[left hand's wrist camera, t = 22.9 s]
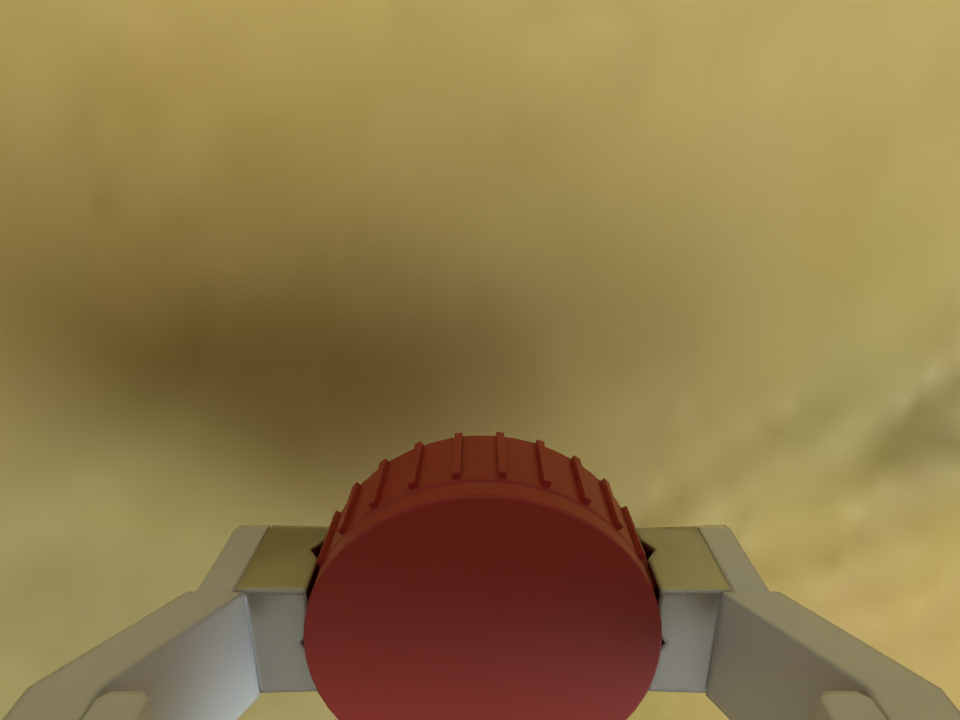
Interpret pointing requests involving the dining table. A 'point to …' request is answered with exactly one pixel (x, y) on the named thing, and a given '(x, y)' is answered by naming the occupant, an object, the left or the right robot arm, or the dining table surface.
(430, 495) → the lid
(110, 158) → the dining table surface
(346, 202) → the dining table surface
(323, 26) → the dining table surface
